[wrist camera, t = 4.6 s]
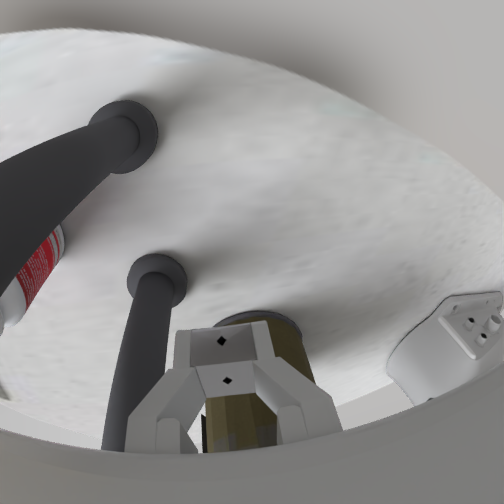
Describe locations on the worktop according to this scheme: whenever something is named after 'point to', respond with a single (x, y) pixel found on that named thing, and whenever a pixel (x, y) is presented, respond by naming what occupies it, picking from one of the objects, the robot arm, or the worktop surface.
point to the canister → (251, 405)
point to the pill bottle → (30, 279)
